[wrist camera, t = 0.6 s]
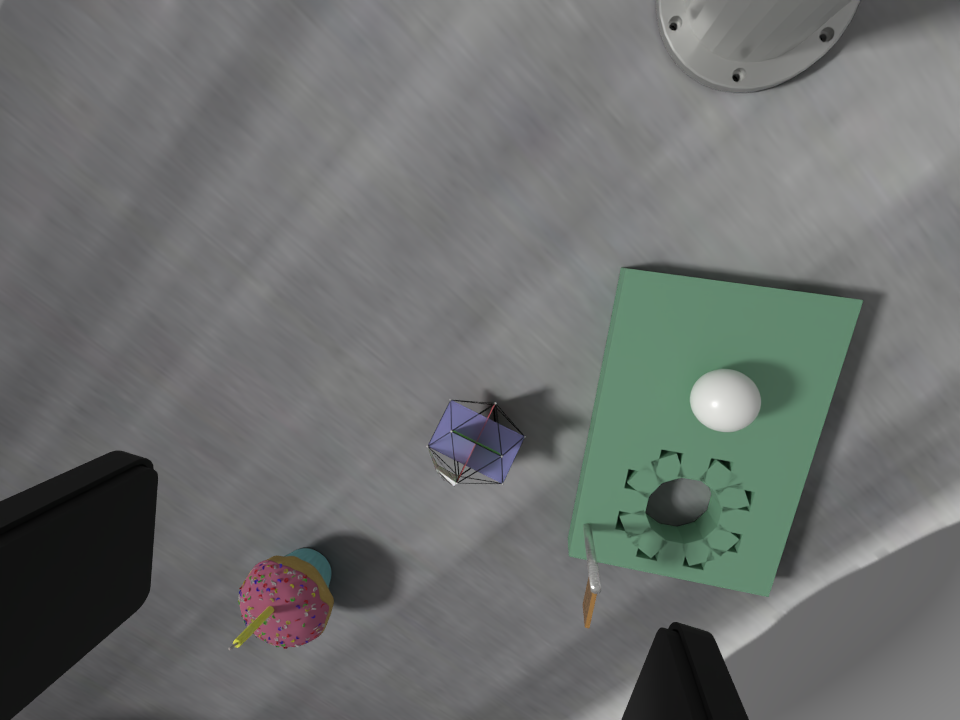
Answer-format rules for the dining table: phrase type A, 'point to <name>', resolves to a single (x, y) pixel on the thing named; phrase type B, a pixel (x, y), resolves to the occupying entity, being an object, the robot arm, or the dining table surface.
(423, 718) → the dining table surface
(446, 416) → the geometric puzzle
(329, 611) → the cupcake
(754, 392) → the ball
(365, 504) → the dining table surface
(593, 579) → the flag pin
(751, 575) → the green flat slab
